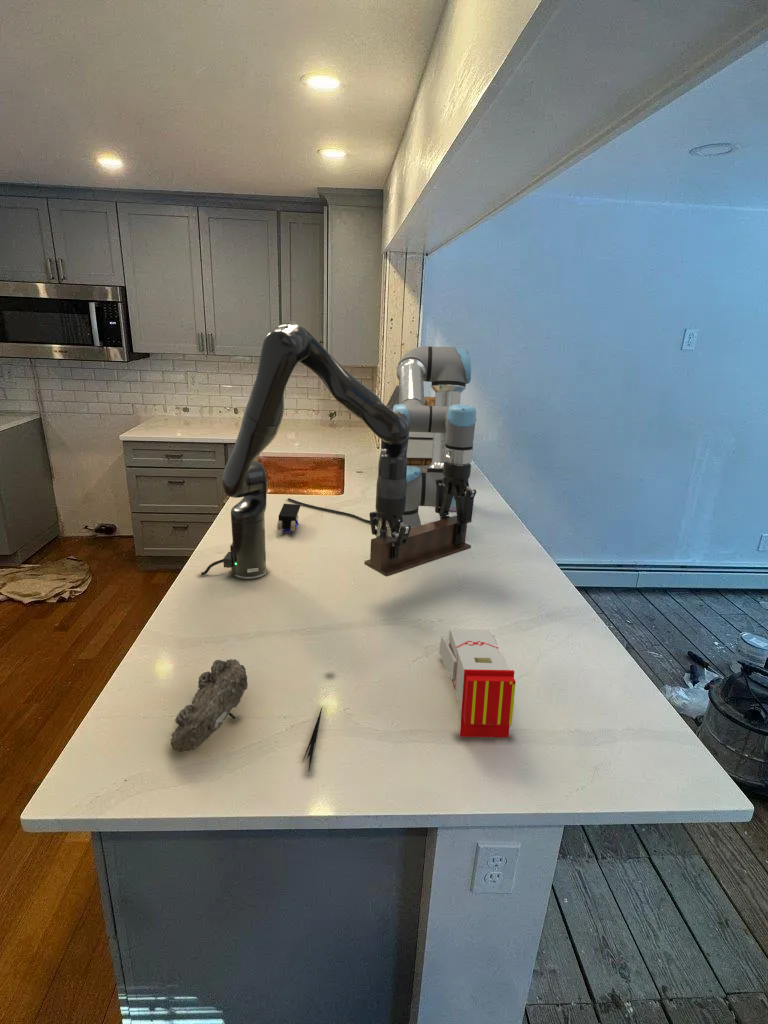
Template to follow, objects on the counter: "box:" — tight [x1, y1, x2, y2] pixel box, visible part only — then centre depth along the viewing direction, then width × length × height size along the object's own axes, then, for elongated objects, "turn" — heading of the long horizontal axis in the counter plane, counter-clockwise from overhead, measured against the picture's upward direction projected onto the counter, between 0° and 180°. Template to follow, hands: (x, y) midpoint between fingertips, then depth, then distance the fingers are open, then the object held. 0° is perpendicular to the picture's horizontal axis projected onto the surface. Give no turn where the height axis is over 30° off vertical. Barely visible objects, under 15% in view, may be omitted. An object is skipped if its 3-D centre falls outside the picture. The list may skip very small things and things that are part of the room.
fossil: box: [170, 658, 249, 753], centre depth 106 cm, size 22×10×15 cm
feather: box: [301, 673, 332, 771], centre depth 108 cm, size 2×28×2 cm
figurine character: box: [276, 503, 301, 536], centre depth 198 cm, size 7×8×15 cm
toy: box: [438, 628, 517, 738], centre depth 117 cm, size 12×13×30 cm
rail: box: [363, 515, 472, 578], centre depth 155 cm, size 32×9×8 cm, turn 130°
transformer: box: [385, 384, 435, 467], centre depth 268 cm, size 34×33×41 cm
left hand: (387, 555), depth 148 cm, fingers closed on rail, 4 cm apart
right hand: (450, 540), depth 163 cm, fingers closed on rail, 4 cm apart
